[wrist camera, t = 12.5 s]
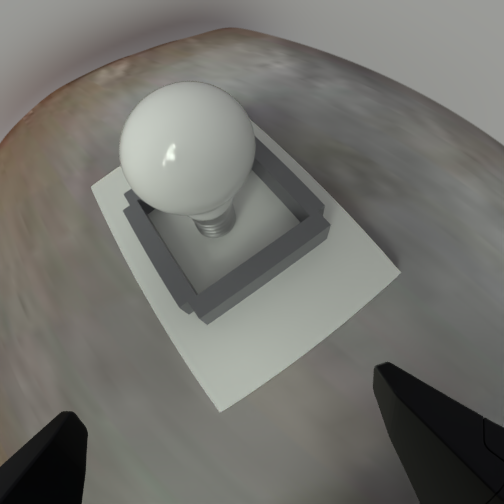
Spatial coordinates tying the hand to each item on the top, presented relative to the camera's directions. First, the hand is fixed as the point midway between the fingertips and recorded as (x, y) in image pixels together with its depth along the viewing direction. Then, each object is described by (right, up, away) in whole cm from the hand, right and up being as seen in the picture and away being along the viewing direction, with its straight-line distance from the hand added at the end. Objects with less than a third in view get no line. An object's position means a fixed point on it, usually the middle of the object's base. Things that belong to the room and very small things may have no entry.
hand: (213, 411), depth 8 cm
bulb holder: (-1, +6, +15) cm, 16 cm away
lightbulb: (-1, +6, +14) cm, 15 cm away
